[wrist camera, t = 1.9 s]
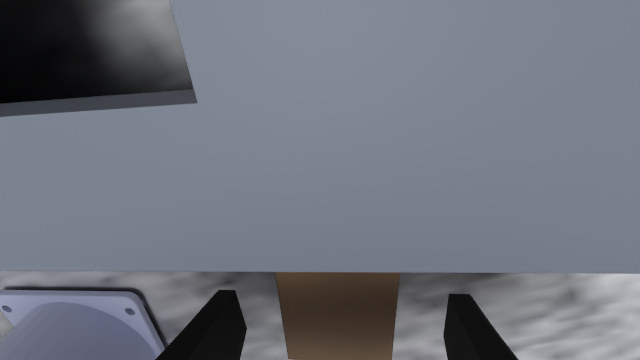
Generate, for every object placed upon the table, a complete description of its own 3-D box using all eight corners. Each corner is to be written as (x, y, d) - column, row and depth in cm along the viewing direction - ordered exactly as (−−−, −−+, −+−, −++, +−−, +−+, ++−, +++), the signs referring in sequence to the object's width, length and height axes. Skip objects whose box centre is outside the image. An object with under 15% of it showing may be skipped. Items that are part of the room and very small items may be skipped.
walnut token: (385, 303, 15) (390, 366, 12) (300, 298, 16) (288, 359, 13) (393, 191, 12) (402, 244, 10) (288, 190, 13) (270, 240, 10)
